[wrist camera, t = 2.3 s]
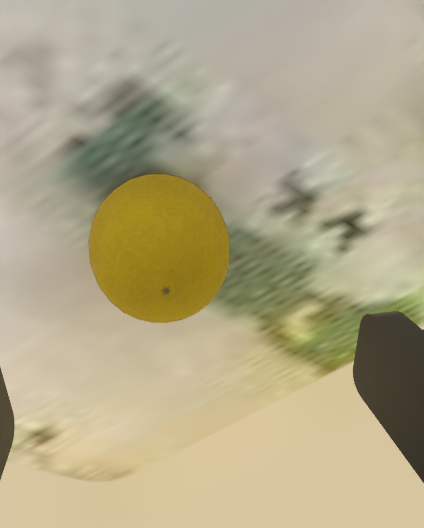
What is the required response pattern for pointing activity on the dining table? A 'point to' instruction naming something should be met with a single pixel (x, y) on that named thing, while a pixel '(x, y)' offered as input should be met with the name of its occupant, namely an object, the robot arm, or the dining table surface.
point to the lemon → (159, 248)
